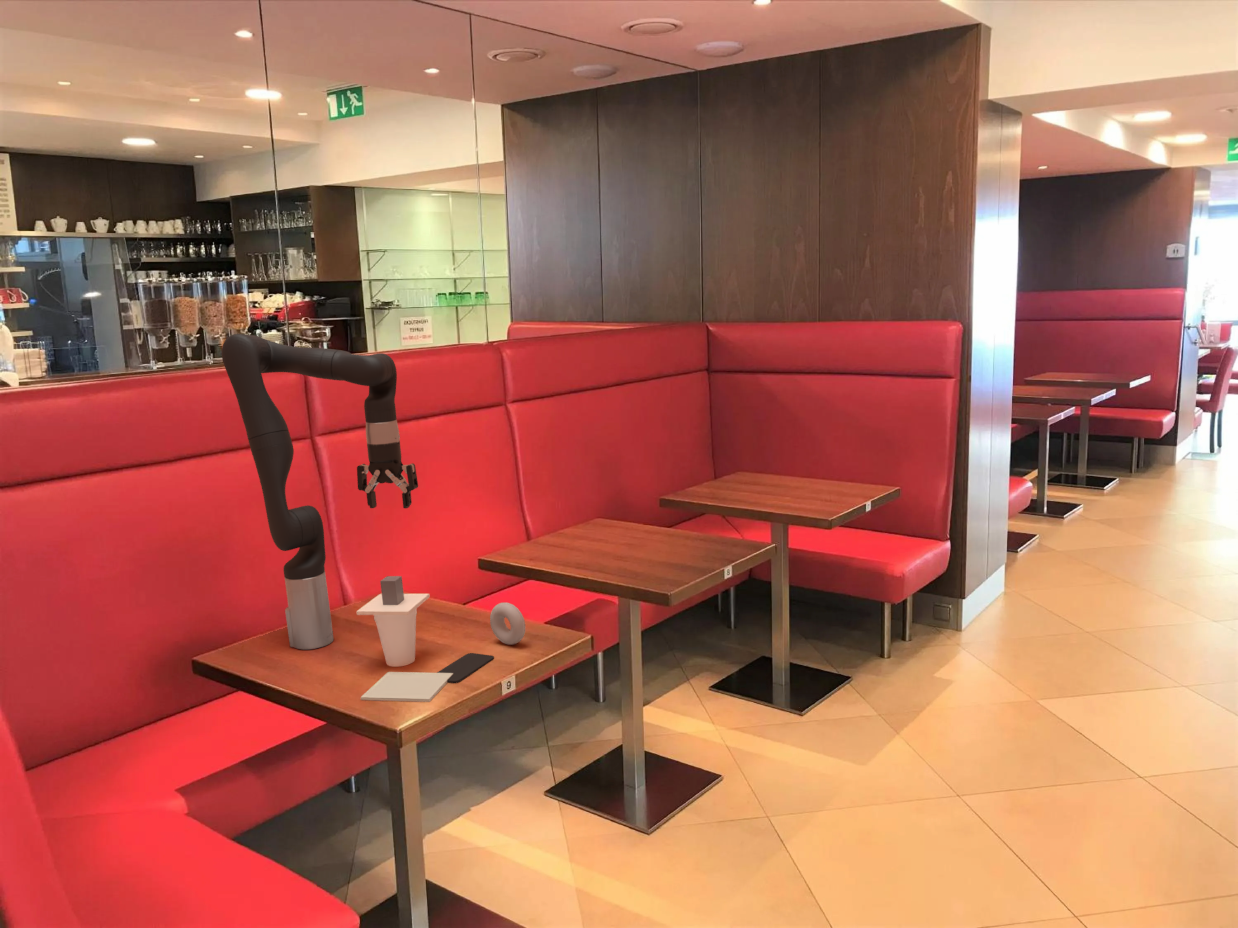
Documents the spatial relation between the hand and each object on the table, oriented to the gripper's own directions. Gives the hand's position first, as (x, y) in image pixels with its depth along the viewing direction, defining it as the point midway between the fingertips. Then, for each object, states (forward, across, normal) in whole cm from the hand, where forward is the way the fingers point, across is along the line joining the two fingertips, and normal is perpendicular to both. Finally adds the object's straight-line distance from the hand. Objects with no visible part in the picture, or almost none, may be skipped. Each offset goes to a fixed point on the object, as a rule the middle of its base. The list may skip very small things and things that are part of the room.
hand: (390, 507), depth 229 cm
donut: (+31, +29, -5) cm, 43 cm away
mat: (+31, +15, -30) cm, 46 cm away
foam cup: (+32, +7, -16) cm, 36 cm away
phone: (+32, +23, -20) cm, 44 cm away
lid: (+18, +7, -16) cm, 25 cm away
